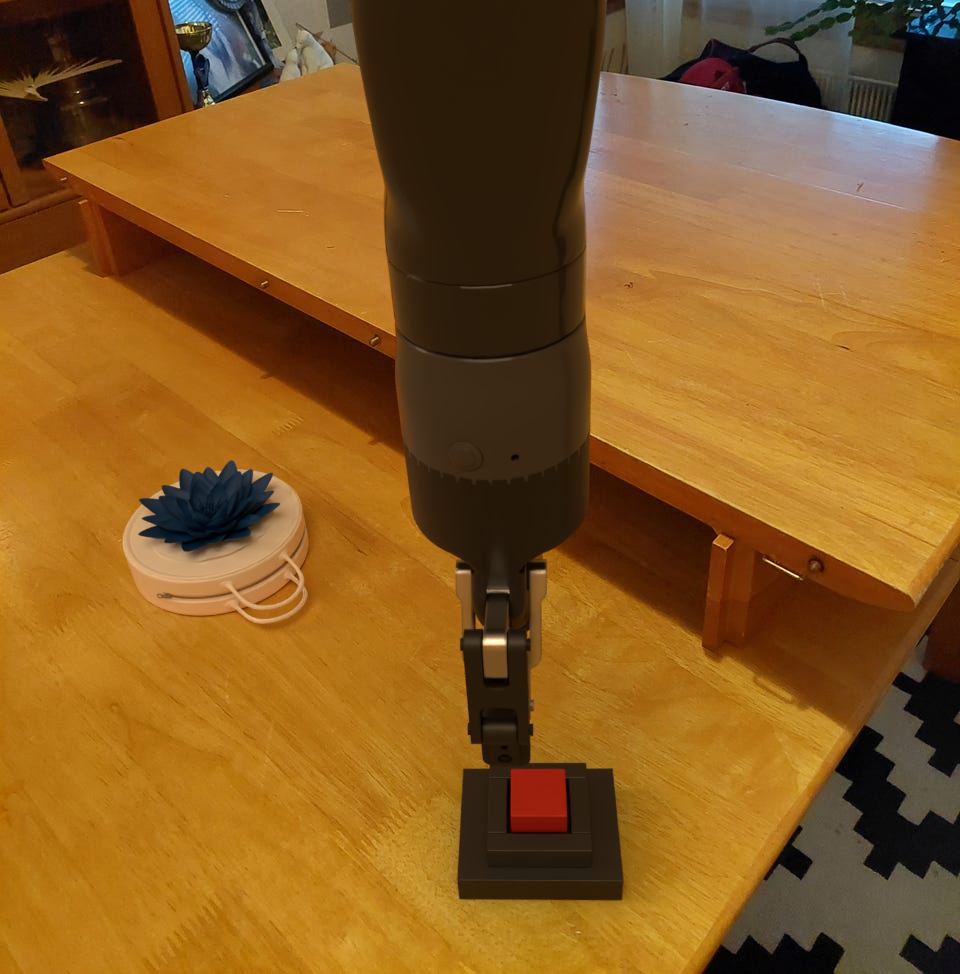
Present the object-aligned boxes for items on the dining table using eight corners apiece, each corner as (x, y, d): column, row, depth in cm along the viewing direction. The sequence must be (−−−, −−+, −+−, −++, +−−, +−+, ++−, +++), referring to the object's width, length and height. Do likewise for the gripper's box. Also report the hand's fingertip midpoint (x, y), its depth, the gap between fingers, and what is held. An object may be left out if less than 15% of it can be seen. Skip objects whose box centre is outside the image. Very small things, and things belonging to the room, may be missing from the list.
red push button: (611, 787, 63) (613, 751, 61) (622, 900, 57) (625, 864, 54) (465, 787, 64) (461, 751, 61) (459, 899, 57) (455, 864, 55)
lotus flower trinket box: (85, 493, 81) (183, 614, 68) (244, 425, 89) (359, 523, 76) (107, 552, 85) (204, 676, 73) (257, 483, 93) (369, 585, 80)
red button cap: (564, 785, 59) (564, 768, 58) (566, 833, 56) (567, 816, 55) (511, 785, 59) (510, 768, 58) (511, 832, 57) (510, 816, 56)
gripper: (598, 531, 31) (590, 815, 41) (584, 329, 42) (581, 589, 52) (375, 532, 31) (420, 812, 41) (421, 333, 43) (448, 589, 52)
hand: (510, 688), depth 46 cm, fingers open, 8 cm apart
